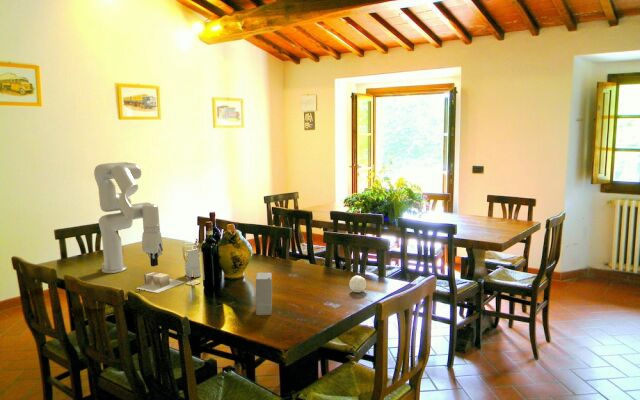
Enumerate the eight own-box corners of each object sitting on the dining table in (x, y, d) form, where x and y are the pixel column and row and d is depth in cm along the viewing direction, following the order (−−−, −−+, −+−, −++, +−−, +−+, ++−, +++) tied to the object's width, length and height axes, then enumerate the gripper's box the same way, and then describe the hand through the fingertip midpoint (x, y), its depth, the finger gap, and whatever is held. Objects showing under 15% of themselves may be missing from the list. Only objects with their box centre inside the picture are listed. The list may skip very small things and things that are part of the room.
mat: (135, 288, 230) (135, 288, 230) (164, 278, 246) (164, 277, 246) (157, 293, 223) (157, 292, 223) (185, 282, 239) (185, 281, 239)
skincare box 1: (201, 276, 248) (199, 249, 245) (189, 278, 244) (188, 250, 242) (195, 272, 254) (194, 246, 252) (184, 275, 251) (182, 247, 249)
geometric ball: (353, 298, 218) (343, 284, 218) (361, 287, 224) (351, 274, 224) (364, 293, 213) (353, 280, 213) (372, 283, 219) (361, 269, 218)
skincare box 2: (256, 308, 201) (255, 272, 199) (273, 307, 202) (272, 271, 199) (255, 316, 193) (253, 278, 190) (273, 315, 193) (271, 277, 191)
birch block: (144, 274, 235) (161, 277, 230) (152, 271, 240) (169, 274, 234) (145, 284, 236) (162, 287, 230) (153, 281, 241) (170, 284, 235)
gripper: (135, 229, 232) (137, 266, 235) (156, 232, 225) (159, 269, 228) (147, 227, 239) (149, 262, 242) (168, 229, 232) (171, 265, 234)
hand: (154, 265), depth 235 cm, fingers closed
